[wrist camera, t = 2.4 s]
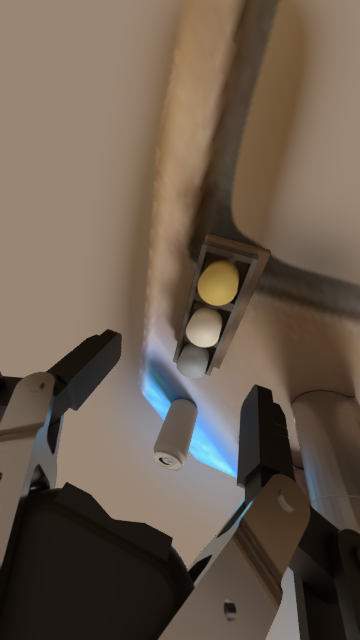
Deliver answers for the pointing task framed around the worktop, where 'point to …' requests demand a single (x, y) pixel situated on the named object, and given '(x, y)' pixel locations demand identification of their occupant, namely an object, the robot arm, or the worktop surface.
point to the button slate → (193, 361)
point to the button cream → (204, 327)
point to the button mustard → (219, 283)
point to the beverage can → (175, 435)
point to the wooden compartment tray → (250, 270)
